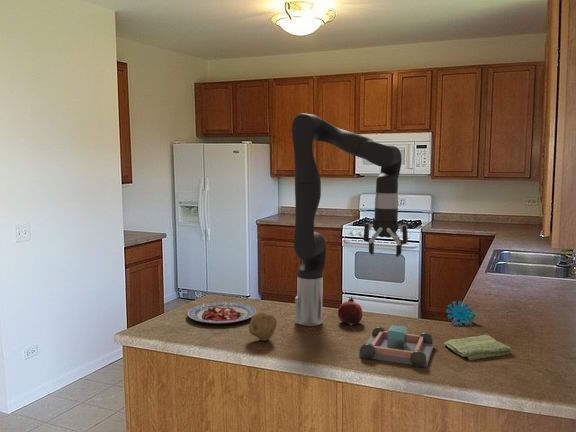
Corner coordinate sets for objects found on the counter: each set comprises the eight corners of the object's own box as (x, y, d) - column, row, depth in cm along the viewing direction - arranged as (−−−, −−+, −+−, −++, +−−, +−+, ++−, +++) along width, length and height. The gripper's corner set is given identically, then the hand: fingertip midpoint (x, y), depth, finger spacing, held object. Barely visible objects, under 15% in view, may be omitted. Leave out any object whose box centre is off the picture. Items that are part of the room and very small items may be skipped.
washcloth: (441, 347, 168) (441, 337, 168) (488, 342, 173) (488, 332, 172) (464, 362, 155) (465, 352, 155) (515, 356, 160) (515, 346, 160)
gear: (446, 321, 188) (447, 297, 194) (442, 328, 193) (444, 305, 199) (477, 327, 186) (478, 303, 192) (473, 334, 191) (473, 310, 197)
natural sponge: (251, 346, 166) (251, 316, 165) (246, 337, 174) (246, 308, 173) (279, 344, 168) (279, 314, 167) (272, 335, 177) (272, 306, 176)
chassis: (358, 358, 157) (358, 344, 156) (372, 338, 174) (372, 325, 174) (426, 368, 150) (426, 353, 149) (433, 346, 167) (434, 333, 167)
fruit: (350, 329, 184) (351, 301, 182) (332, 322, 191) (332, 296, 190) (368, 324, 189) (368, 297, 188) (349, 317, 197) (349, 292, 195)
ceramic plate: (175, 324, 188) (175, 316, 188) (204, 305, 213) (204, 298, 212) (243, 330, 182) (243, 322, 181) (264, 310, 206) (264, 302, 206)
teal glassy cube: (387, 349, 160) (387, 330, 159) (390, 343, 166) (391, 324, 165) (403, 351, 158) (404, 332, 158) (406, 345, 164) (407, 326, 163)
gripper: (362, 206, 170) (361, 255, 172) (406, 208, 165) (404, 259, 166) (367, 204, 177) (366, 251, 179) (410, 206, 172) (408, 255, 173)
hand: (384, 255), depth 173 cm, fingers open, 8 cm apart
